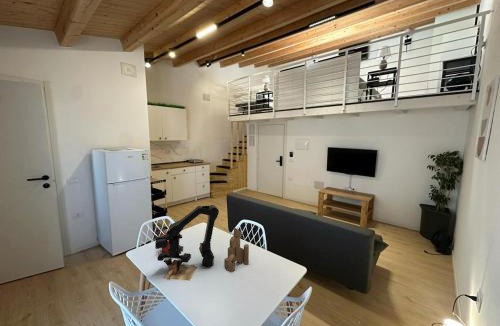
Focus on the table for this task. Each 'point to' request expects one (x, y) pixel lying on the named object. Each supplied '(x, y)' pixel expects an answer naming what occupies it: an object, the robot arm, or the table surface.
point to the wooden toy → (236, 252)
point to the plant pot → (166, 247)
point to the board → (183, 272)
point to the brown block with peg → (173, 268)
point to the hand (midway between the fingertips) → (174, 270)
